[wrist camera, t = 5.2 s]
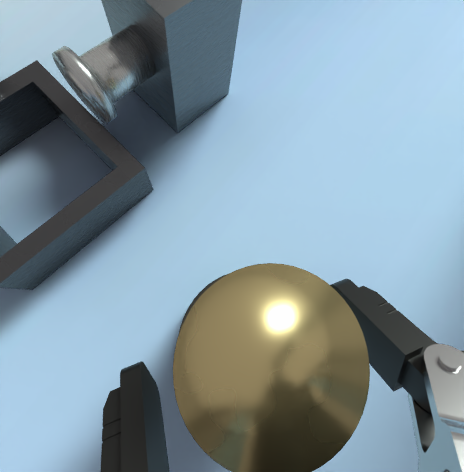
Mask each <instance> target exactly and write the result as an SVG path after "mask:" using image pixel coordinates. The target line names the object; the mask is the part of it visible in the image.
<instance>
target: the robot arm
mask: <svg viewBox="0 0 464 472" xmlns="http://www.w3.org/2000/svg"><path fill="white" fill-rule="evenodd" d="M330 286H331V287H332V288H334V289H335V290H336V291H337V292H338V293H339V294H340V296H341V297H342V298H343V299H344V300H345V301H346V303H347V304H348V306H349V307H350V308H351V310H352V311H353V313H354V315H355V317H356V319H357V320H358V323H359V325H360V327H361V330H362V332H363V335H364V339H365V342H366V345H367V351H368V357H369V363H370V365H371V366H372V367H373V368H374V369H375V370H376V372H377V373H378V374H379V375H380V376H381V377H382V379H383V380H384V381H385V382H386V383H387V385H388V386H389V387H390V388H391V389H392V390H393V392H394V391H396V390H398V389H399V388H401V387H403V388H404V389H405V390H406V391H407V392H408V400H409V405H410V411H411V416H412V421H413V427H414V432H415V438H416V443H417V449H418V457H419V462H418V472H464V351H460V350H458V349H456V348H454V347H451V346H448V345H444V344H438V343H436V342H434V341H433V340H432V339H430V338H429V337H428V336H427V335H426V334H425V333H423V332H422V331H421V330H420V329H419V328H418V327H416V326H415V325H414V324H413V323H412V322H411V321H410V320H408V319H407V318H406V317H405V316H404V315H403V314H401V313H400V312H399V311H397V310H396V308H394V307H393V306H392V305H391V304H390V303H387V301H386V300H385V299H384V298H383V297H382V296H380V295H379V294H378V293H377V292H375V291H373V290H371V289H369V288H367V287H365V286H362V287H357V286H356V285H355V284H354V283H353V282H352V281H351V280H349V279H344V280H342V281H339V282H337V283H334V284H332V285H330ZM102 441H103V444H102V455H101V472H169V464H168V456H167V449H166V441H165V433H164V425H163V417H162V410H161V402H160V395H159V391H158V387H157V385H156V382H155V380H154V379H153V377H152V376H151V374H150V372H149V371H148V369H147V367H146V366H145V364H144V363H143V362H142V361H141V362H139V363H136V364H134V365H131V366H129V367H127V368H124V369H122V370H121V373H120V387H119V388H117V389H115V390H112V391H110V393H109V395H108V398H107V401H106V403H105V406H104V408H103V431H102Z"/></svg>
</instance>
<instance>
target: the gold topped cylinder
mask: <svg viewBox="0 0 464 472" xmlns="http://www.w3.org/2000/svg"><path fill="white" fill-rule="evenodd" d="M369 376H370V369H369V357H368V351H367V345H366V342H365V339H364V335H363V332H362V330H361V327H360V325H359V323H358V320H357V319H356V317H355V315H354V313H353V311H352V310H351V308H350V307H349V306H348V304H347V303H346V301H345V300H344V299H343V298H342V297H341V296H340V294H339V293H338V292H337V291H336V290H335V289H334V288H332V287H331V286H330V285H329V284H328V283H326V282H325V281H324V280H322V279H320V278H319V277H317V276H316V275H314V274H312V273H310V272H308V271H306V270H303V269H300V268H297V267H294V266H289V265H284V264H272V263H269V264H257V265H252V266H248V267H244V268H242V269H239V270H236V271H234V272H232V273H229V274H227V275H224V276H222V277H220V278H218V279H216V280H215V281H213V282H212V283H210V284H209V285H207V286H206V287H205V288H204V289H203V290H202V291H201V292H200V293H199V294H198V295H197V296H196V298H195V299H194V300H193V302H192V303H191V305H190V306H189V308H188V310H187V312H186V314H185V316H184V318H183V321H182V324H181V327H180V331H179V336H178V339H177V343H176V348H175V353H174V362H173V383H174V390H175V396H176V400H177V404H178V407H179V410H180V413H181V416H182V418H183V420H184V422H185V425H186V427H187V429H188V430H189V432H190V433H191V435H192V437H193V438H194V440H195V441H196V442H197V443H198V445H199V446H200V447H201V448H202V449H203V451H204V452H205V453H207V454H208V455H209V456H210V457H211V458H212V459H213V460H214V461H216V462H217V463H219V464H220V465H221V466H223V467H224V468H226V469H228V470H230V471H232V472H312V471H314V470H316V469H317V468H319V467H321V466H322V465H324V464H325V463H326V462H328V461H329V460H331V459H332V458H333V457H334V456H335V455H336V454H337V453H338V452H339V451H340V450H341V449H342V448H343V446H344V445H345V444H346V443H347V441H348V440H349V439H350V437H351V436H352V434H353V432H354V431H355V429H356V427H357V425H358V423H359V421H360V418H361V416H362V414H363V411H364V407H365V404H366V400H367V395H368V389H369Z"/></svg>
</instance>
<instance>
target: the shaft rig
mask: <svg viewBox="0 0 464 472" xmlns="http://www.w3.org/2000/svg"><path fill="white" fill-rule="evenodd" d="M102 4H103V7H104V10H105V13H106V16H107V19H108V22H109V26H110V29H111V32H112V35H113V36H111V37H110V38H108V39H106V40H105V41H103V42H101V43H100V44H98V45H97V46H95V47H93V48H92V49H90V50H89V51H87V52H85V53H84V54H82V55H80V56H78V55H77V54H75V53H74V52H73V51H72V50H71V49H70V48H68V47H66V46H63V47H62V48H60V49H58V50H57V51H55V52H53V53H52V56H53V59H54V61H55V63H56V65H57V67H58V68H59V70H60V72H61V73H62V75H63V76H64V78H65V79H66V81H67V82H68V83H69V85H70V86H71V88H72V89H73V90H74V92H75V93H76V94H77V95H78V97H79V98H80V99H81V100H82V101H83V103H84V104H85V105H86V106H87V107H88V108H89V109H90V110H91V111H92V112H93V113H94V115H96V116H97V117H98V118H99V119H100V120H101V121H102V122H104V123H106V124H108V123H109V122H110V121H112V120H113V119H115V118H116V117H117V112H116V109H115V107H114V105H113V103H115V102H116V101H118V100H119V99H120V98H122V97H123V96H125V95H126V94H128V93H129V92H130V91H132V90H134V91H135V92H136V93H137V94H138V95H139V96H140V97H141V98H142V99H143V100H144V101H145V102H146V103H147V104H148V105H149V106H150V107H151V108H152V109H154V110H155V111H156V112H157V113H158V114H159V115H160V116H161V117H162V118H163V119H164V120H165V121H166V122H167V123H168V124H169V125H170V126H171V127H172V128H173V129H174V130H175V131H176V132H177V133H178V132H180V131H181V130H182V129H183V128H185V127H186V126H187V125H189V124H190V123H191V122H192V121H194V120H195V119H196V118H198V117H199V116H200V115H201V114H203V113H204V112H205V111H206V110H208V109H209V108H210V107H212V106H213V105H214V104H215V103H217V102H218V101H219V100H220V99H222V98H223V97H224V96H226V95H227V94H228V92H229V85H230V78H231V72H232V65H233V58H234V51H235V44H236V38H237V31H238V24H239V17H240V11H241V4H242V0H102ZM57 117H60V118H61V119H62V120H63V121H64V122H65V123H66V124H67V125H68V126H69V127H70V128H71V129H72V130H73V131H74V132H75V133H76V134H77V135H78V136H79V137H80V138H81V139H82V140H83V141H84V142H85V143H86V144H87V145H88V146H89V147H90V148H91V149H92V150H93V151H94V152H95V153H96V154H97V155H98V156H99V157H100V158H101V159H102V160H103V161H104V162H105V163H106V164H107V165H108V166H109V167H110V168H111V169H112V170H113V171H112V172H110V173H109V174H108V175H106V176H105V177H104V178H103V179H101V180H100V181H99V182H97V183H96V184H95V185H93V186H92V187H91V188H90V189H88V190H87V191H86V192H84V193H83V194H82V195H80V196H79V197H78V198H77V199H75V200H74V201H73V202H71V203H70V204H69V205H67V206H66V207H65V208H64V209H62V210H61V211H60V212H58V213H57V214H56V215H54V216H53V217H52V218H51V219H49V220H48V221H47V222H45V223H44V224H43V225H41V226H40V227H39V228H38V229H36V230H35V231H34V232H32V233H31V234H30V235H29V236H27V237H26V238H25V239H23V240H22V241H21V242H19V243H18V244H16V243H15V242H14V240H13V239H12V238H11V237H10V236H9V235H8V234H7V233H6V232H5V231H4V230H3V229H2V227H1V226H0V288H13V289H27V290H33V289H34V288H35V287H36V286H38V285H39V284H40V283H41V282H42V281H44V280H45V279H46V278H47V277H48V276H50V275H51V274H52V273H53V272H55V271H56V270H57V269H58V268H59V267H61V266H62V265H63V264H64V263H65V262H67V261H68V260H69V259H70V258H71V257H73V256H74V255H75V254H76V253H77V252H79V251H80V250H81V249H82V248H83V247H85V246H86V245H87V244H88V243H90V242H91V241H92V240H93V239H94V238H96V237H97V236H98V235H99V234H100V233H102V232H103V231H104V230H105V229H106V228H108V227H109V226H110V225H111V224H112V223H114V222H115V221H116V220H117V219H118V218H120V217H121V216H122V215H123V214H125V213H126V212H127V211H128V210H129V209H131V208H132V207H133V206H134V205H135V204H137V203H138V202H139V201H140V200H141V199H143V198H144V197H145V196H146V195H147V194H149V193H150V192H151V191H152V190H153V187H152V185H151V182H150V180H149V177H148V175H147V172H146V170H145V168H144V167H143V166H142V165H141V164H140V163H139V162H138V161H137V160H136V159H135V158H134V157H133V156H132V155H131V154H130V153H129V152H128V151H127V150H126V149H125V148H124V147H123V146H122V145H121V144H120V143H119V142H118V141H117V140H116V139H115V138H114V137H113V136H112V135H111V134H110V133H109V132H108V131H107V130H106V129H105V128H104V127H103V126H102V125H101V124H100V123H99V122H98V121H97V120H96V119H95V118H94V117H93V116H92V115H91V114H90V113H89V112H88V111H87V110H86V109H85V108H84V107H83V106H82V105H81V104H80V103H79V102H78V101H77V100H76V99H75V98H74V97H73V96H72V95H71V94H70V93H69V92H68V91H67V90H66V89H65V88H64V87H63V86H62V85H61V84H60V83H59V82H58V81H57V80H56V79H55V78H54V77H53V76H52V75H51V74H50V73H49V72H48V71H47V70H46V69H45V68H44V67H43V66H42V65H41V64H40V63H39V62H38V61H35V62H33V63H32V64H30V65H28V66H27V67H25V68H23V69H22V70H20V71H18V72H17V73H15V74H13V75H11V76H10V77H8V78H6V79H5V80H3V81H1V82H0V155H2V154H3V153H5V152H6V151H8V150H9V149H11V148H12V147H14V146H15V145H17V144H18V143H20V142H21V141H23V140H24V139H26V138H27V137H29V136H30V135H32V134H33V133H35V132H36V131H38V130H39V129H41V128H42V127H44V126H45V125H47V124H48V123H50V122H51V121H53V120H54V119H56V118H57Z"/></svg>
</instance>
